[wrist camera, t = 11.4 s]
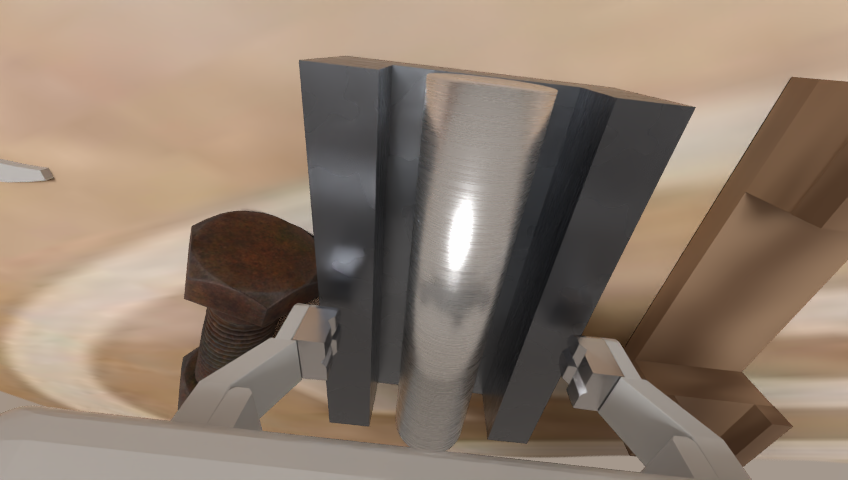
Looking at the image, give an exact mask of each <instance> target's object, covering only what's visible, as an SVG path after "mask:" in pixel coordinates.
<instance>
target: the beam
mask: <svg viewBox="0 0 848 480" xmlns="http://www.w3.org/2000/svg"><path fill="white" fill-rule="evenodd" d="M847 260H848V82H844V81H833V80H821V79H809V78H798V77H792V78H791V80H790V81H789V83H788V84H787V86H786V88H785V89H784V91H783V93H782V94H781V96H780V97H779V99H778V101H777V102H776V104H775V105H774V107H773V109H772V110H771V112H770V114H769V115H768V117H767V118H766V120H765V122H764V123H763V125H762V127H761V128H760V130H759V131H758V133H757V135H756V136H755V138H754V139H753V141H752V143H751V144H750V146H749V148H748V149H747V151H746V152H745V154H744V156H743V157H742V159H741V160H740V162H739V164H738V165H737V167H736V169H735V170H734V172H733V173H732V175H731V177H730V178H729V180H728V182H727V183H726V185H725V186H724V188H723V190H722V191H721V193H720V194H719V196H718V198H717V199H716V201H715V203H714V204H713V206H712V207H711V209H710V211H709V212H708V214H707V216H706V217H705V219H704V220H703V222H702V224H701V225H700V227H699V228H698V230H697V232H696V233H695V235H694V237H693V238H692V240H691V241H690V243H689V245H688V246H687V248H686V249H685V251H684V253H683V254H682V256H681V258H680V259H679V261H678V262H677V264H676V266H675V267H674V269H673V271H672V272H671V274H670V275H669V277H668V279H667V280H666V282H665V283H664V285H663V287H662V288H661V290H660V292H659V293H658V295H657V296H656V298H655V300H654V301H653V303H652V304H651V306H650V308H649V309H648V311H647V313H646V314H645V316H644V317H643V319H642V321H641V322H640V324H639V326H638V327H637V329H636V330H635V332H634V334H633V335H632V337H631V338H630V340H629V342H628V343H627V345H626V347H625V348H624V351H625V353H626V354H627V356H628V358H629V359H630V361H631V362H632V364H633V366H634V367H635V369H636V371H637V372H638V374H639V376H640V377H641V379H643V380H647V381H648V382H650V383H651V384H652V385H653V386H655V387H656V388H657V389H659V390H660V391H661V392H662V393H664V394H665V395H666V396H668V397H669V398H670V399H671V400H673V401H674V402H675V403H677V404H678V405H679V406H680V407H682V408H683V409H684V410H686V411H687V412H688V413H689V414H691V415H692V416H693V417H695V418H696V419H697V420H698V421H700V422H701V423H702V424H704V425H705V426H706V427H707V428H709V429H710V430H711V431H713V432H714V433H715V434H716V435H718V436H719V437H720V438H722V439H723V440H724V441H725V443H726V444H727V446H728V447H729V448H730V450H731V451H732V453H733V454H734V455H735V457H736V458H737V460H738V461H739V463H740V464H741V465H742V467H743V466H745V465H746V464H747V463H748V462H750V461H751V460H752V459H753V458H755V457H756V456H757V455H758V454H760V453H761V452H762V451H763V450H765V449H766V448H767V447H768V446H769V445H771V444H772V443H773V442H774V441H776V440H777V439H778V438H779V437H781V436H782V435H783V434H784V433H786V432H787V431H788V430H789V429H791V428H792V427H793V426H792V425H791V424H790V423H789V422H788V421H787V420H786V419H785V417H784V416H783V415H782V414H781V413H780V412H779V411H778V410H777V409H776V408H775V407H774V406H773V405H772V404H771V403H770V402H769V401H768V400H767V399H766V398H765V397H764V396H763V395H762V393H761V392H760V391H759V390H758V389H757V388H756V387H755V386H754V385H753V384H752V383H751V381H750V380H749V379H748V378H747V377H746V376H745V375H744V374H743V373H742V371H743V370H744V369H745V368H746V367H747V366H748V365H749V364H750V363H751V362H752V361H753V360H754V359H755V357H756V356H757V355H758V354H759V353H760V352H761V351H762V350H763V349H764V348H765V347H766V346H767V345H768V344H769V343H770V342H771V341H772V339H773V338H774V337H775V336H776V335H777V334H778V333H779V332H780V331H781V330H782V329H783V328H784V327H785V326H786V325H787V324H788V323H789V321H790V320H791V319H792V318H793V317H794V316H795V315H796V314H797V313H798V312H799V311H800V310H801V309H802V308H803V307H804V306H805V305H806V303H807V302H808V301H809V300H810V299H811V298H812V297H813V296H814V295H815V294H816V293H817V292H818V291H819V290H820V289H821V288H822V287H823V285H824V284H825V283H826V282H827V281H828V280H829V279H830V278H831V277H832V276H833V275H834V274H835V273H836V272H837V271H838V270H839V269H840V267H841V266H842V265H843V264H844V263H845V262H846V261H847ZM623 442H624V441H623ZM624 444H625V443H624ZM625 446H626V449H627V451H628V453H629V455H630V456H636V455H635V454H634V453H633V452H632V451H631V449H630V448H629V447H628V446H627V445H626V444H625Z"/></svg>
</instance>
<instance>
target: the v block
mask: <svg viewBox="0 0 848 480" xmlns="http://www.w3.org/2000/svg"><path fill="white" fill-rule="evenodd" d="M299 67H300V79H301V91H302V103H303V114H304V126H305V138H306V150H307V162H308V173H309V185H310V197H311V209H312V220H313V232H314V244H315V256H316V267H317V279H318V291H319V303H320V306H325V307H333V308H339V309H340V310H341V318H340V321H339V324H340V325H341V328H342V332H341V340H340V345H339V348H338V351H337V353H336V354H335V355H333V365H332V368H331V371H330V374H329V377H328V379H327V380H326V385H327V397H328V408H329V420H330V422H332V423H341V424H351V425H360V426H369V425H370V420H371V415H372V410H373V405H374V400H375V395H376V389H377V384H378V382H379V383H388V384H397V385H399V374H400V363H401V352H402V341H403V330H404V319H405V308H406V297H407V286H408V275H409V264H410V253H411V242H412V231H413V220H414V209H415V198H416V187H417V176H418V165H419V154H420V143H421V132H422V121H423V110H424V99H425V88H426V77H427V74H429V73H449V74H463V75H474V76H482V77H491V78H500V79H507V80H514V81H520V82H526V83H532V84H537V85H542V86H547V87H551V88H554V89H556V90H558V92H557V95H556V99H555V102H554V106H553V109H552V113H551V116H550V120H549V123H548V127H547V130H546V134H545V137H544V141H543V144H542V148H541V152H540V155H539V159H538V162H537V166H536V169H535V173H534V176H533V180H532V183H531V187H530V190H529V194H528V197H527V201H526V204H525V208H524V211H523V215H522V218H521V222H520V226H519V229H518V233H517V236H516V240H515V243H514V247H513V250H512V254H511V257H510V261H509V264H508V268H507V271H506V275H505V278H504V282H503V285H502V289H501V292H500V296H499V300H498V303H497V307H496V310H495V314H494V317H493V321H492V324H491V328H490V331H489V335H488V338H487V342H486V345H485V349H484V352H483V356H482V359H481V363H480V366H479V370H478V374H477V377H476V381H475V384H474V388H473V391H472V393H479V394H482V395H483V404H484V413H485V421H486V430H487V439H488V440H498V441H507V442H516V443H525V444H527V442H528V440H529V438H530V436H531V434H532V432H533V430H534V428H535V426H536V424H537V422H538V420H539V418H540V416H541V414H542V412H543V410H544V408H545V406H546V404H547V402H548V400H549V398H550V396H551V394H552V392H553V390H554V388H555V386H556V384H557V383H558V381H559V379H560V377H561V373H560V368H559V359H560V355H561V353H562V351H563V350H564V349H566V348H568V344H567V340H568V338H569V337H570V336H571V335H582V333H583V331H584V329H585V327H586V325H587V323H588V321H589V319H590V317H591V315H592V313H593V311H594V309H595V307H596V305H597V303H598V301H599V299H600V297H601V295H602V293H603V291H604V289H605V287H606V285H607V283H608V281H609V279H610V277H611V275H612V273H613V271H614V269H615V267H616V265H617V263H618V261H619V259H620V257H621V255H622V253H623V251H624V249H625V247H626V245H627V243H628V241H629V239H630V237H631V235H632V233H633V231H634V229H635V227H636V225H637V223H638V221H639V219H640V217H641V215H642V213H643V211H644V209H645V207H646V205H647V203H648V201H649V199H650V197H651V195H652V193H653V191H654V189H655V187H656V185H657V183H658V181H659V179H660V177H661V175H662V173H663V171H664V169H665V167H666V165H667V163H668V161H669V159H670V157H671V155H672V153H673V151H674V149H675V147H676V145H677V143H678V141H679V139H680V137H681V135H682V133H683V131H684V129H685V127H686V125H687V123H688V121H689V119H690V118H691V116H692V114H693V112H694V110H695V108H696V107H692V106H688V105H684V104H680V103H676V102H671V101H667V100H663V99H659V98H655V97H650V96H646V95H642V94H638V93H634V92H630V91H625V90H621V89H617V88H611V87H603V86H594V85H586V84H578V83H569V82H561V81H552V80H544V79H536V78H527V77H519V76H510V75H502V74H494V73H485V72H477V71H468V70H460V69H452V68H443V67H435V66H427V65H418V64H410V63H401V62H393V61H385V60H376V59H368V58H359V57H351V56H339V57H328V58H317V59H306V60H299Z"/></svg>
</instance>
